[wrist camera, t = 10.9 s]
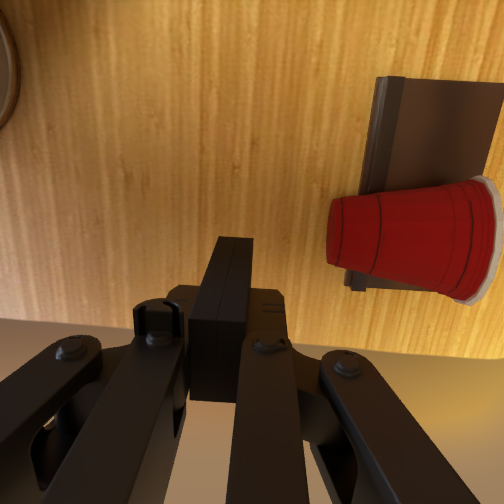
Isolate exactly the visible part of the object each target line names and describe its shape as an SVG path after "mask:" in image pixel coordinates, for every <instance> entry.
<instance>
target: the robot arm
mask: <svg viewBox="0 0 504 504" xmlns="http://www.w3.org/2000/svg"><path fill="white" fill-rule="evenodd" d="M19 86H20V66H19V58H18V53H17V48H16V45H15V42H14V38H13V36H12V33H11V30H10V28H9V26H8V24H7V21H6V19H5V18H4V16H3V14H2V12H1V10H0V128H1V127H2V126H3V125H4V124H5V122H6V121H7V120H8V118H9V117H10V115H11V113H12V111H13V109H14V107H15V104H16V101H17V97H18V93H19ZM253 239H254V238H241V237H224V236H219V237H218V240H217V242H216V245H215V248H214V251H213V253H212V256H211V259H210V261H209V264H208V267H207V269H206V272H205V275H204V277H203V280H202V283H201V285H200V286H193V285H178V286H176V287H175V288H173V289H172V290H171V291H169V293H168V295H167V297H166V298H157V299H151V300H146V301H144V302H142V303H140V304H138V305H137V306H135V307H134V308H133V320H134V332H135V337H134V339H133V340H132V342H131V344H128V345H125V346H120V347H113V348H107V349H102V347H101V343H100V341H99V340H98V339H97V338H95V337H92V336H89V335H76V336H75V335H74V336H69V337H66V338H64V339H60V340H58V341H56V342H55V343H53V344H51V345H50V346H48V347H47V348H46V349H44V350H43V351H42V352H40V353H39V354H38V355H36V356H35V357H33V358H32V359H31V360H29V361H28V362H27V363H25V364H24V365H23V366H21V367H20V368H19V369H17V370H16V371H15V372H13V373H12V374H11V375H9V376H8V377H7V378H5V379H4V380H2V381H1V382H0V504H163V503H164V499H165V495H166V491H167V488H168V484H169V480H170V476H171V472H172V468H173V464H174V460H175V457H176V453H177V449H178V445H179V440H180V437H181V433H182V429H183V425H184V422H185V418H186V398H187V395H188V391H189V392H190V400H195V401H211V402H227V403H236V408H235V417H234V427H233V436H232V446H231V457H230V465H229V475H228V484H227V494H226V503H225V504H310V503H309V494H308V484H307V476H306V467H305V457H304V449H303V440H305V441H308V442H309V443H310V449H311V451H312V454H313V456H314V459H315V461H316V464H317V466H318V469H319V471H320V474H321V476H322V479H323V481H324V484H325V486H326V489H327V491H328V494H329V496H330V499H331V501H332V504H480V502H479V501H478V500H477V498H476V497H475V496H474V495H473V493H472V492H471V491H470V489H469V488H468V487H467V486H466V484H465V483H464V482H463V480H462V479H461V478H460V476H459V475H458V474H457V473H456V471H455V470H454V469H453V467H452V466H451V465H450V464H449V462H448V461H447V460H446V458H445V457H444V456H443V455H442V453H441V452H440V451H439V449H438V448H437V447H436V445H435V444H434V443H433V442H432V440H431V439H430V438H429V436H428V435H427V434H426V433H425V431H424V430H423V429H422V427H421V426H420V425H419V423H418V422H417V421H416V420H415V418H414V417H413V416H412V414H411V413H410V412H409V411H408V409H407V408H406V407H405V405H404V404H403V403H402V402H401V400H400V399H399V398H398V397H397V395H396V394H395V393H394V391H393V390H392V389H391V387H390V386H389V385H388V383H387V382H386V381H385V380H384V378H383V377H382V376H381V374H380V373H379V372H378V371H377V369H376V368H375V367H374V366H373V364H372V363H371V362H370V361H369V360H367V359H366V358H365V357H363V356H361V355H360V354H358V353H355V352H352V351H348V350H334V351H330V352H328V353H326V354H325V355H324V356H323V357H322V360H317V359H314V358H310V357H308V356H305V355H303V354H301V353H299V352H297V351H296V350H295V349H294V348H293V347H292V344H291V342H290V340H289V339H288V333H287V323H286V314H285V303H284V297H283V295H282V294H281V293H280V292H279V291H278V290H275V289H259V288H251V275H252V257H253ZM53 416H54V419H53V420H52V421H51V422H50V423H49V424H48V425H46V426H45V427H43V426H44V425H45V424H46V423H47V422H48V421H49V420H50V419H51V418H52V417H53Z"/></svg>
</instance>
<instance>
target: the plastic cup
mask: <svg viewBox="0 0 504 504" xmlns="http://www.w3.org/2000/svg"><path fill="white" fill-rule="evenodd" d="M503 231H504V216H503V209H502V203H501V196H500V194H499V192H498V190H497V188H496V186H495V184H494V183H493V181H492V179H490V178H487V177H484V176H482V175H479V176H474V177H472V178H471V179H469V180H467V181H463V182H457V183H453V184H447V185H440V186H438V187H428V188H418V189H408V190H399V191H389V192H379V193H373V194H371V195H360V196H349V197H341V198H340V199H333V201H332V203H331V207H330V212H329V218H328V227H327V240H326V256H327V263H328V264H332V265H335V266H336V267H340V268H345V269H349V270H354V271H358V272H363V273H365V274H367V275H371V276H375V277H380V278H384V279H388V280H392V281H397V282H401V283H405V284H410V285H414V286H418V287H422V288H425V289H427V290H431V291H435V292H438V293H439V294H443V295H446V296H448V297H450V298H452V299H454V301H455V302H458V303H461V304H465V305H469V306H471V305H473V304H475V303H476V302H478V301H479V300H481V299H482V298H483V297H484V295H485V293H486V292H487V290H488V288H489V287H490V285H491V283H492V282H493V280H494V277H495V274H496V270H497V267H498V263H499V260H500V256H501V253H502V244H503Z"/></svg>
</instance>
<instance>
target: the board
mask: <svg viewBox="0 0 504 504" xmlns="http://www.w3.org/2000/svg"><path fill="white" fill-rule="evenodd" d="M503 100H504V83H490V82H470V81H451V80H432V79H412V78H405V77H400V76H386V77H377V78H376V85H375V91H374V97H373V103H372V110H371V116H370V122H369V128H368V135H367V141H366V147H365V154H364V160H363V166H362V172H361V179H360V185H359V191H358V196H360V195H371V194H373V193H379V192H389V191H399V190H408V189H418V188H428V187H438V186H440V185H447V184H453V183H457V182H463V181H467V180H469V179H471V178H472V177H474V176H479V175H482V174H483V171H484V167H485V164H486V160H487V157H488V153H489V149H490V146H491V142H492V139H493V135H494V132H495V128H496V125H497V121H498V117H499V114H500V110H501V107H502V103H503ZM344 286H349V287H350V289H351V291H363V292H366V288H382V289H397V290H413V291H429V292H435V291H431V290H427V289H425V288H422V287H418V286H414V285H410V284H405V283H401V282H397V281H392V280H388V279H384V278H380V277H375V276H371V275H367V274H365V273H363V272H358V271H354V270H349V269H346V273H345V279H344Z"/></svg>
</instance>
